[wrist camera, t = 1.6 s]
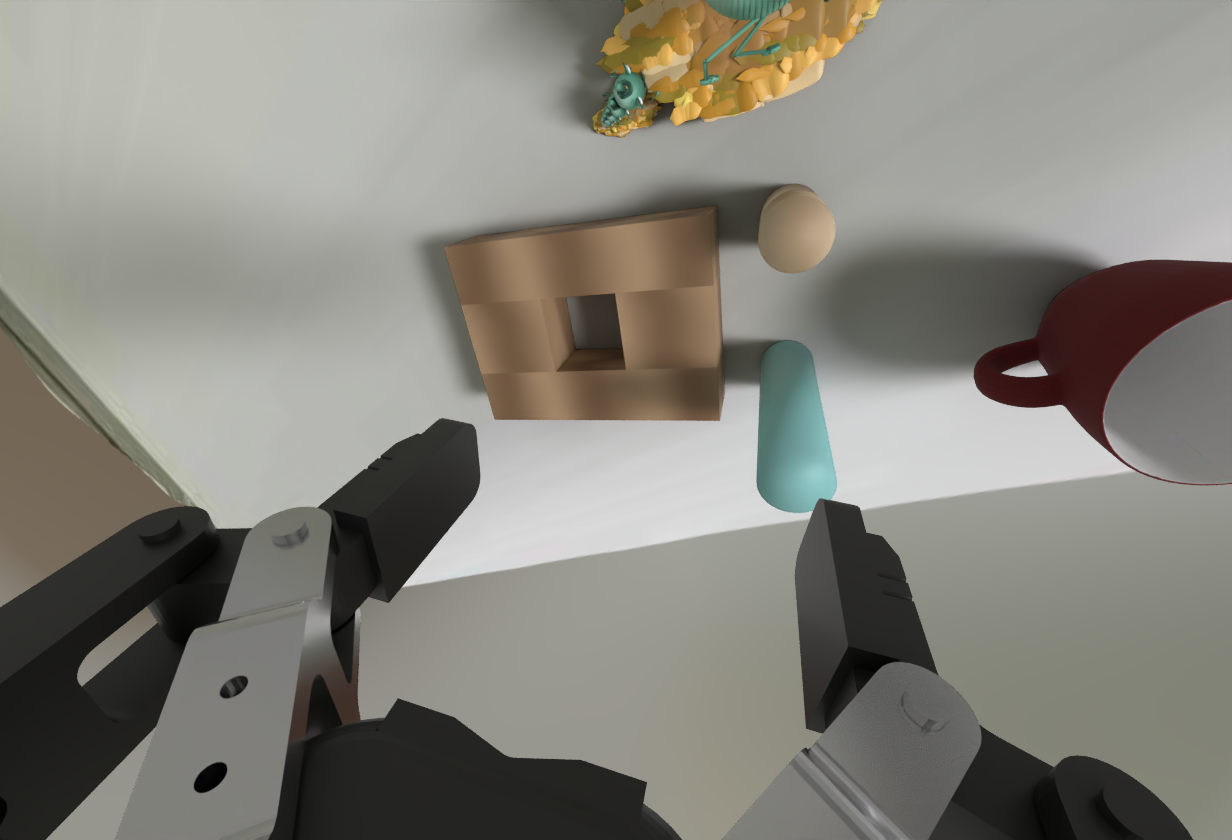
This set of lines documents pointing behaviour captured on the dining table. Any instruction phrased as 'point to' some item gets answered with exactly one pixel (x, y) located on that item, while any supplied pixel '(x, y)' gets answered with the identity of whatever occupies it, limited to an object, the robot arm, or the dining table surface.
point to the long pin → (792, 432)
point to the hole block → (647, 309)
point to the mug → (1136, 366)
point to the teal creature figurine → (719, 55)
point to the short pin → (795, 229)
